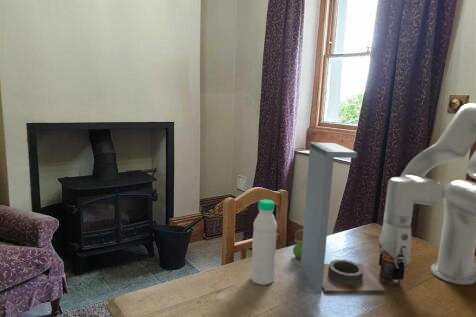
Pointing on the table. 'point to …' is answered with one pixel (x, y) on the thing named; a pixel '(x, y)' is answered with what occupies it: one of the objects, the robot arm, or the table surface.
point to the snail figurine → (298, 243)
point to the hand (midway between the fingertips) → (390, 271)
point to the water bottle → (264, 244)
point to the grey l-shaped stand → (318, 209)
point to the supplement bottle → (388, 268)
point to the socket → (348, 279)
